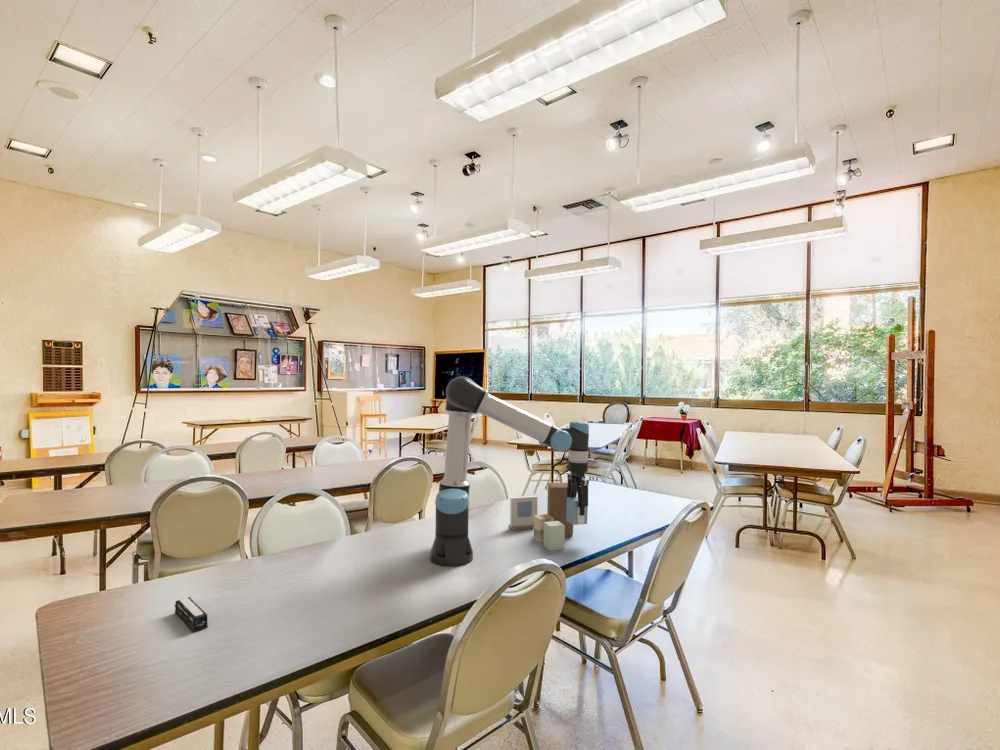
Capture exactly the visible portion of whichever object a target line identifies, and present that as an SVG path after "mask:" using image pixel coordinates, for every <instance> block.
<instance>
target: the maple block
mask: <svg viewBox="0 0 1000 750" xmlns="http://www.w3.org/2000/svg"><path fill="white" fill-rule="evenodd" d="M550 521H554V518H553V517H551V516H550V515H548V514H547V513H546V514H544V513H543V514H537V515H534V528H533V539H535V540H536V541H537V542H539V543H544V522H550Z"/></svg>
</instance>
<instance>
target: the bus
mask: <svg viewBox="0 0 1000 750" xmlns="http://www.w3.org/2000/svg"><path fill="white" fill-rule="evenodd" d="M174 608H175V609H174V614H176V616H177V618H179V620H181V622H182V623H183V624H184V625H186V628H188V630H190V632H191V633H193V634H194V633H196V632H199V631H203V630H205V629H208V628H209V627H208V626H209V625H208V624H209V623H208V614H207V613H206V612H205V611H204V610H203V609H202V607H200V605H198V604H197V603H196V602H195V601H194V600H193V599H192V598H191V596H189V597H185V598H181V599H178V600H175V604H174Z"/></svg>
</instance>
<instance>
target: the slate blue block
mask: <svg viewBox="0 0 1000 750" xmlns="http://www.w3.org/2000/svg"><path fill="white" fill-rule="evenodd" d="M578 505H579V503H578V496H576V497H567V509H566V521H568V522H569V523H571V524H572V525H573V526H576V525H578V526H579V525H580V524H577V506H578ZM588 507H589V505H588V506H586V507H585V514H584V524H583V525H587V524H588V510H589V509H588Z"/></svg>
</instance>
